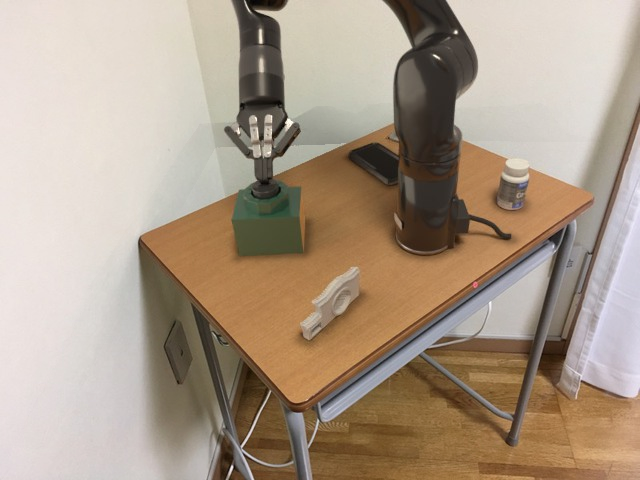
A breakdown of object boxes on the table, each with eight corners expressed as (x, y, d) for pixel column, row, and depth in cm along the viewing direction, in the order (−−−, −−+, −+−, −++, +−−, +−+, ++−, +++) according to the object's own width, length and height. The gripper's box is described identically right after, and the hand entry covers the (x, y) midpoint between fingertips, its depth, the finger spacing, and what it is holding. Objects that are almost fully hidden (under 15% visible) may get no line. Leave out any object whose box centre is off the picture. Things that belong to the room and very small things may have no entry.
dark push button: (281, 190, 88) (279, 177, 86) (279, 205, 84) (277, 191, 83) (255, 191, 88) (253, 178, 86) (252, 206, 85) (250, 193, 83)
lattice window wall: (309, 343, 72) (306, 314, 68) (300, 337, 73) (296, 308, 69) (362, 295, 79) (361, 265, 75) (352, 290, 80) (351, 261, 76)
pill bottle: (517, 213, 92) (526, 173, 87) (492, 206, 94) (498, 165, 89) (527, 201, 95) (536, 160, 90) (502, 193, 97) (509, 154, 92)
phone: (376, 141, 114) (420, 169, 104) (376, 145, 115) (420, 173, 105) (346, 152, 111) (388, 181, 101) (346, 156, 112) (388, 186, 102)
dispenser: (305, 221, 95) (300, 174, 88) (303, 253, 88) (298, 204, 81) (245, 224, 95) (236, 178, 89) (239, 256, 88) (228, 208, 82)
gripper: (216, 73, 83) (218, 179, 81) (298, 68, 82) (302, 174, 80) (227, 91, 90) (229, 189, 88) (302, 87, 90) (306, 185, 88)
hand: (264, 182), depth 84 cm, fingers closed
